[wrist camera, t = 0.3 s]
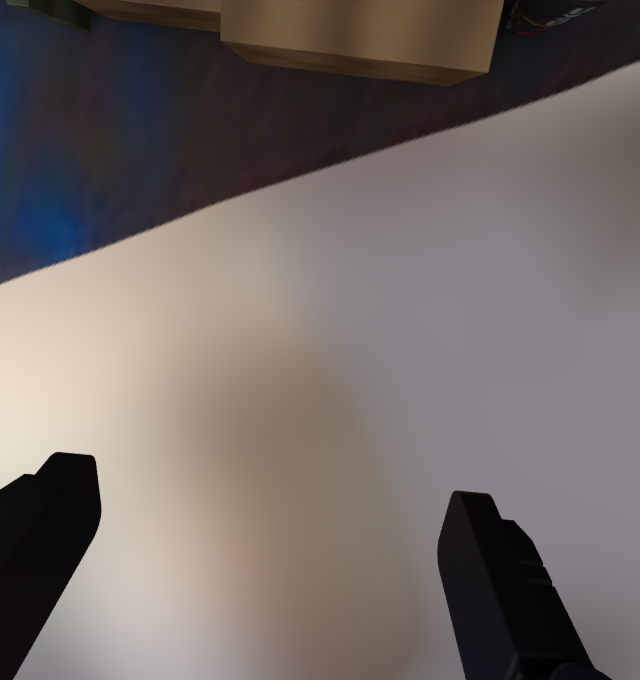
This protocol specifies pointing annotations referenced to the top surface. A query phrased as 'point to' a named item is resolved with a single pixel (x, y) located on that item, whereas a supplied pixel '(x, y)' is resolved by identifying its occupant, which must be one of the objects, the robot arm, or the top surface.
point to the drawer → (127, 12)
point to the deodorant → (542, 13)
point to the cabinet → (367, 36)
